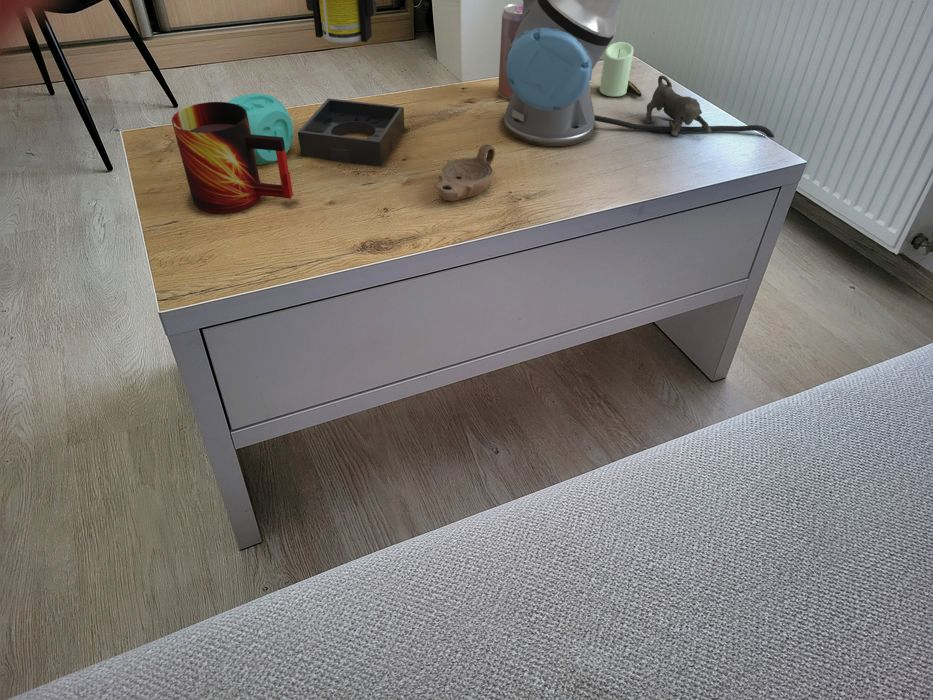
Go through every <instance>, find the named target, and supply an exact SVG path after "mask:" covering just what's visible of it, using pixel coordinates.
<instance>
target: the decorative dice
mask: <svg viewBox="0 0 933 700" xmlns="http://www.w3.org/2000/svg"><path fill="white" fill-rule="evenodd" d="M227 103H233V104H236V105H239V106H241V107H243V108H244V109H245V110H246V112H247V116H248V121H249V126H250V132H251V134H253V135H264V136H275V137H283V139H284V145H285V151H286V154H287V153H288V152H289V150H290V149H291V146H292V144H293V141H294V134H295V133H294V131H295V130H294V129H295V128H294V124H293V120H292V118H291V115H290V113H289V111H288V110H287V108H286V107H285V106H284V105H283V103H282V102H281V101H280V100H279V99H277V98H276V97H275V96H273V95H269V94H265V93H247V94H242V95H238V96H235V97H233V98H231V99H230V100H228V101H227ZM254 152H255V158H256V163H257V166H259V165H260V166H261V165H267V164H272V163H275V162H278V161H277V155H276V151H273V150H262V149H254Z"/></svg>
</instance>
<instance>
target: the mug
mask: <svg viewBox="0 0 933 700" xmlns="http://www.w3.org/2000/svg"><path fill="white" fill-rule="evenodd" d="M171 117H172V118H171V123H172V129H173V131H174V135H175V139H176V143H177V146H178V147H177V148H178V150H179V153H180V154H179V155H180V157H181V161H182V165H183V170H184V173H185V176H186V180H187V184H188V188H189V191H190V196H191V200H192V203H193V205H194V207H195V208H196V209H197V210H198V211H200V212H203V213H207V214H210V215H230V214H231V215H232V214H237V213H241V212H243V211H246V210H249V209H250V208H253V207H254V206H255V205H257V204H258V203H259V202H260V201H261V200H262V197H272V198H279V199H280V198H281V199H288V200H291V199H292V198H293V197H294V190H293V185H292V180H291V179H292V177H291V173H290V171H289V163H288V159H287V153H286V151H285V145H284V139H283V137H275V136H264V135H253V134H251V132H250V126H249V121H248V116H247V112H246V110H245V109H244V108H243V107H241V106H239V105H236V104H233V103H228V101H227V102H226V101H208V102H200V103H196V104H192V105H189V106H186V107H184V108H182V109H179V110H178V111H177V112H176V113H174V115H173V116H171ZM254 149H262V150H273V151H276V155H277V161H276V162H277V167H278V173H279V178H280V184H277V183H267V182H266V183H265V182H261V179H260V174H259V168H258V165H257V163H256V158H255V152H254Z"/></svg>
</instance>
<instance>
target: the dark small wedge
mask: <svg viewBox="0 0 933 700" xmlns="http://www.w3.org/2000/svg"><path fill="white" fill-rule="evenodd" d="M627 90H629V92H631V94H633V95H635V97H638V98H640V97H642V92H641V91H640V89H639V88H638V87H637V86H636V85H634V83H633V82H631V81H630V80H628V86H627Z"/></svg>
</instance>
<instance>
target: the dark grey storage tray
mask: <svg viewBox="0 0 933 700" xmlns="http://www.w3.org/2000/svg"><path fill="white" fill-rule="evenodd" d="M404 108H405V107H404V106H399V105H390V104H382V103H374V102H373V103H372V102H366V101H365V102H364V101H355V100H348V99H347V100H345V99H337V98H329V97H328V98H327V99H325V101H323V103H322V104H321V105H320V106H319V107H318V109H316V111H315V112H314V113H313V114H312V115H311V116H310V118H308V120H307V121H306V122H305V123H304V124H303V125H302V126H301V127H300V128H299V130H297V139H298V145H299V152H300V157H306V158H314V159H322V160H330V161H333V160H332V157H331V148H334V149H342V150H347V151H348V153H349V162H348V163H355V164H361V165H362V164H363V165H370V166H377V167H381V166H383V164H384V162H385V161H386V159H387V158H388V156H389V155H390V153H391V152H392V150H391V145H390V139H391V138H392V136H393V135H394V133H395V132H396V143H397V142H398V141H399V139H400V138H401V136H402V135H403V134H404V132H405V130H406V128H405V109H404ZM331 112H338V113H347V114H356V115H365V116H374V117H381V118H389V119H391V121H390V122H389V124H388V125H387V127H386V128H385V129H384V131H383V132H382V134H381V135H380V137H379V138H378V139H377V140H373V139H367V138H365V137H355V136H347V135H331V134H323V133H315V132H314V131H315V130H316V129H317V127H318V126H319V125H320V124H321V123H322V122H323V121H324V119H326V117H327V116H328V115H329V114H330V113H331Z"/></svg>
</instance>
